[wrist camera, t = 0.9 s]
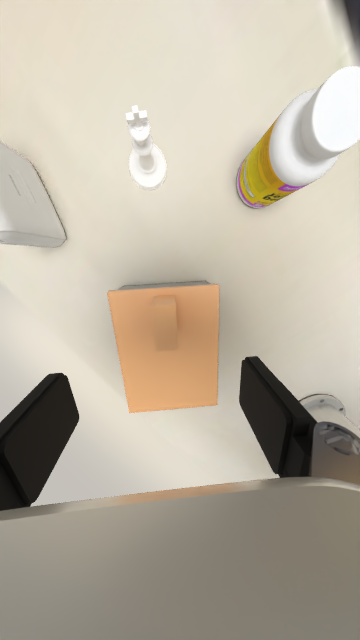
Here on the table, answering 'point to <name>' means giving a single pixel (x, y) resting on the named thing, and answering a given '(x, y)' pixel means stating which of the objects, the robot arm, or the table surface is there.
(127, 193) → the table surface
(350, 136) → the supplement bottle
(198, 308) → the lid
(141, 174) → the chess piece
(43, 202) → the photo printer
